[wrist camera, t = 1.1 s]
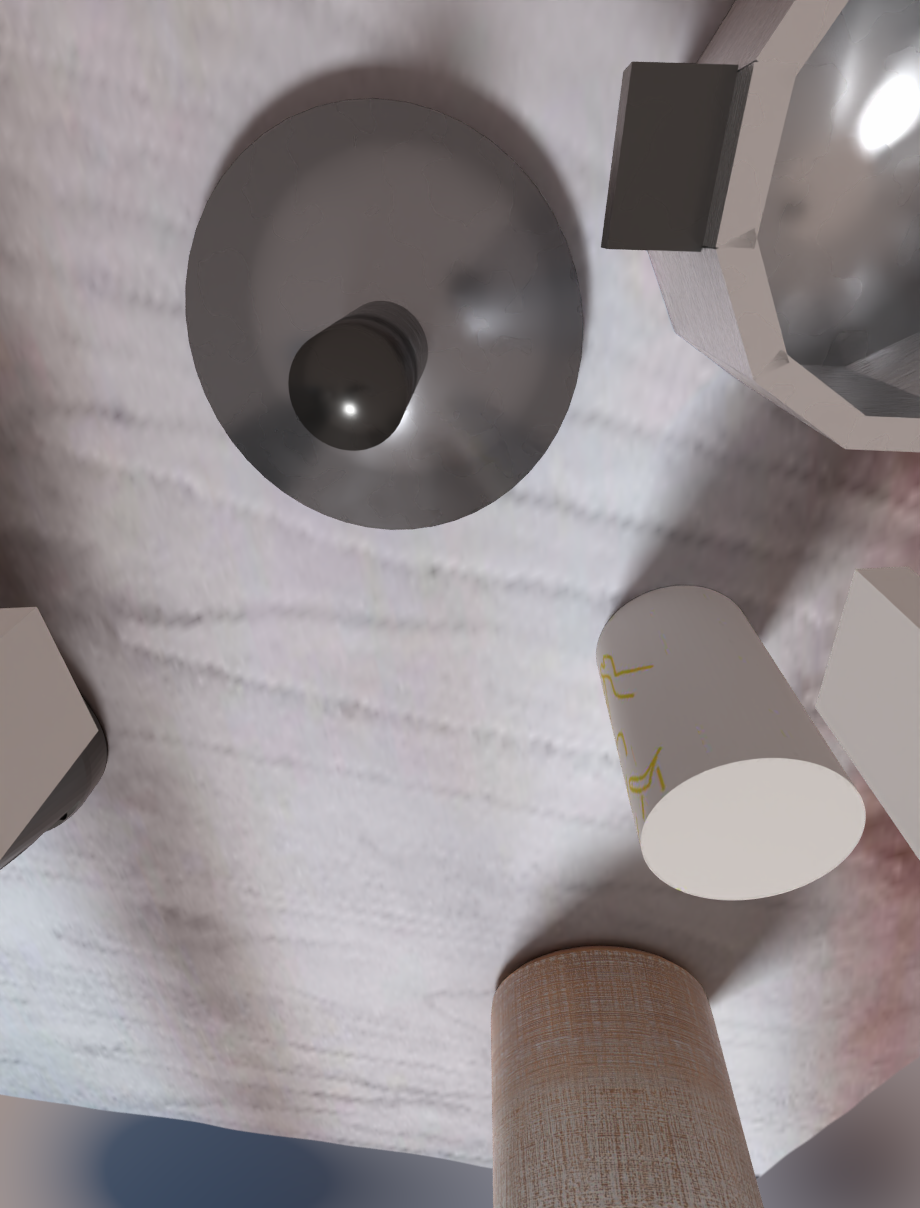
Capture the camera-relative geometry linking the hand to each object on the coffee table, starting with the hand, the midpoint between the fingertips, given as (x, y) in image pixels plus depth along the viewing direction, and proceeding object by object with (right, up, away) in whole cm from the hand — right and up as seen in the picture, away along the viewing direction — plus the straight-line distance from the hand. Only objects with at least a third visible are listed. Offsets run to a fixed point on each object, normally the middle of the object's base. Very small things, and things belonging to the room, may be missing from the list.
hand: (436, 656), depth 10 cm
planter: (+12, -32, +42) cm, 55 cm away
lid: (-3, +12, +16) cm, 20 cm away
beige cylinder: (+12, -2, +24) cm, 26 cm away
